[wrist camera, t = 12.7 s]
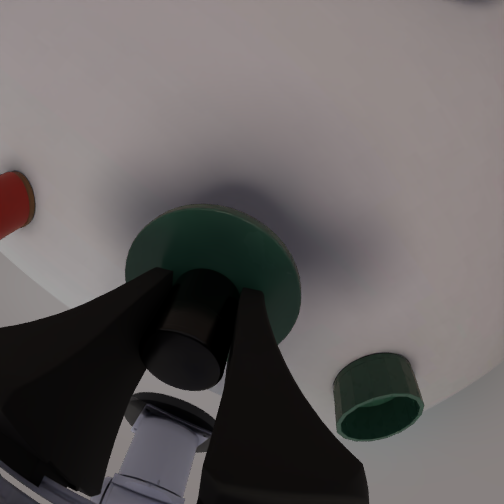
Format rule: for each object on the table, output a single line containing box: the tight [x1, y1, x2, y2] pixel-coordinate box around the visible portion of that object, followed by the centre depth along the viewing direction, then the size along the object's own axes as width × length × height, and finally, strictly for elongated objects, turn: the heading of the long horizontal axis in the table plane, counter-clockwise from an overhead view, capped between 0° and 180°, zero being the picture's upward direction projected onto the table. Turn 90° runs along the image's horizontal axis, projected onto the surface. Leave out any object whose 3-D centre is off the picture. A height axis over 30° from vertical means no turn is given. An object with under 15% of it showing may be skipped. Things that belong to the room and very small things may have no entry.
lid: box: [125, 204, 301, 391], centre depth 9 cm, size 6×6×4 cm
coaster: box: [13, 171, 35, 228], centre depth 15 cm, size 4×4×1 cm
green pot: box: [334, 353, 424, 441], centre depth 17 cm, size 6×6×4 cm
